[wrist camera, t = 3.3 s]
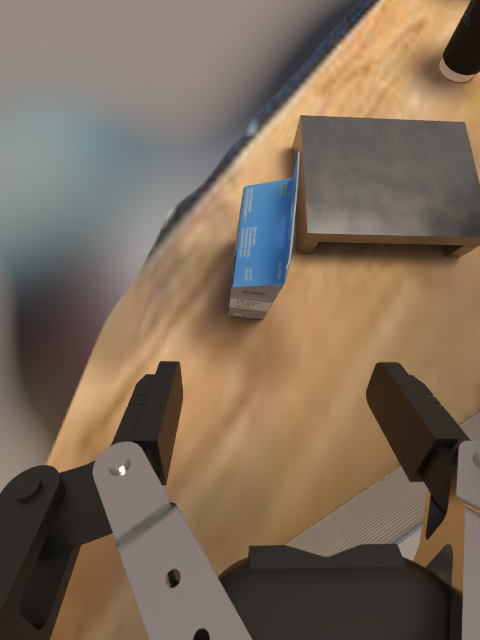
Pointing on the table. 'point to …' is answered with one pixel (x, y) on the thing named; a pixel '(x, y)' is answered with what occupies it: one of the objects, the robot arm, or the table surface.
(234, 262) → the label tape box
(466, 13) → the dixie cup
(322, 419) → the table surface
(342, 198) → the brushed metal plate
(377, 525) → the warehouse
